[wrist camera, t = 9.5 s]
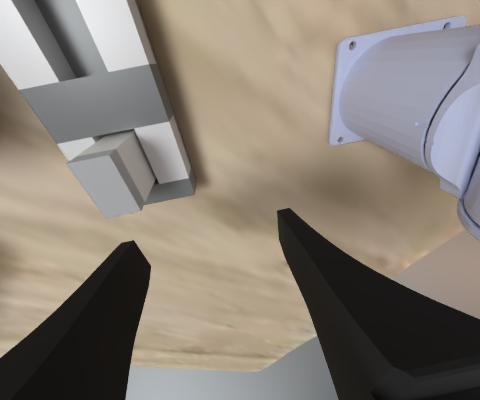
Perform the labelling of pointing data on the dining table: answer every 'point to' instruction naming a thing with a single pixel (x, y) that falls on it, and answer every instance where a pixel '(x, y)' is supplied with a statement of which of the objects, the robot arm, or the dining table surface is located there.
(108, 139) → the block
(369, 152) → the dining table surface
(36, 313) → the dining table surface
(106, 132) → the fuse holder
